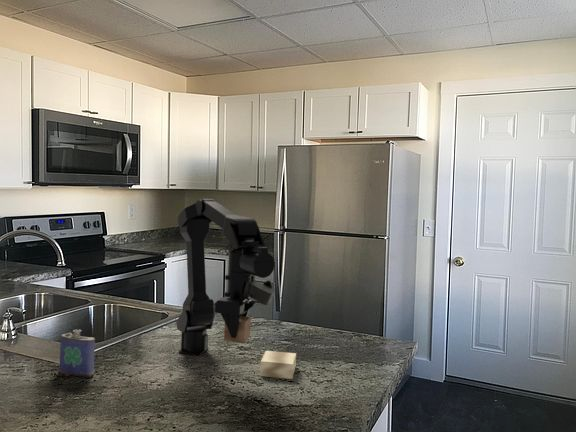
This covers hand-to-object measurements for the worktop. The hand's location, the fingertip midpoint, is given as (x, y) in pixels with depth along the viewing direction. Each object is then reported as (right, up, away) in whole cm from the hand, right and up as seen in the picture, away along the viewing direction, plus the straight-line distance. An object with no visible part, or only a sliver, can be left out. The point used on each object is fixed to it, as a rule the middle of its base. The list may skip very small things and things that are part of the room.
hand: (237, 334), depth 118 cm
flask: (-39, -9, -1) cm, 40 cm away
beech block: (+10, -11, +7) cm, 16 cm away
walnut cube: (0, -1, 0) cm, 1 cm away
